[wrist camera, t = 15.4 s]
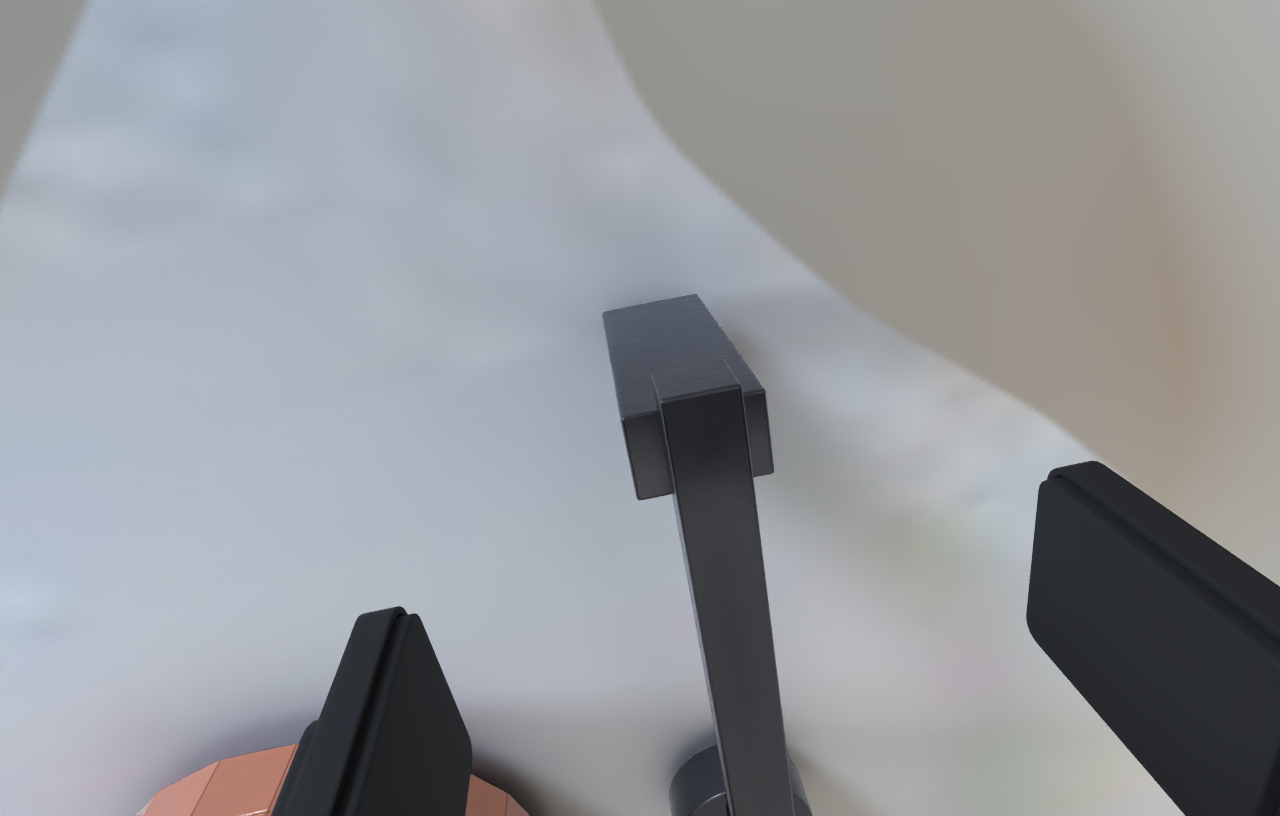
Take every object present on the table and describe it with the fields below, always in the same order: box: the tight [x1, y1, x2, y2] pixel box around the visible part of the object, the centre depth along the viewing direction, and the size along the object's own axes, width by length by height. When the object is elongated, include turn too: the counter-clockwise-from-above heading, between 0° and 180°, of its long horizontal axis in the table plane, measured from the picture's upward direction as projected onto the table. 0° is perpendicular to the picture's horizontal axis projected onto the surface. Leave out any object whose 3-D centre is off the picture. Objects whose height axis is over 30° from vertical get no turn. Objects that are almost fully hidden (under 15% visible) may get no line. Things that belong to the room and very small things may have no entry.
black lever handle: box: [602, 294, 813, 816], centre depth 17 cm, size 21×5×8 cm, turn 10°
